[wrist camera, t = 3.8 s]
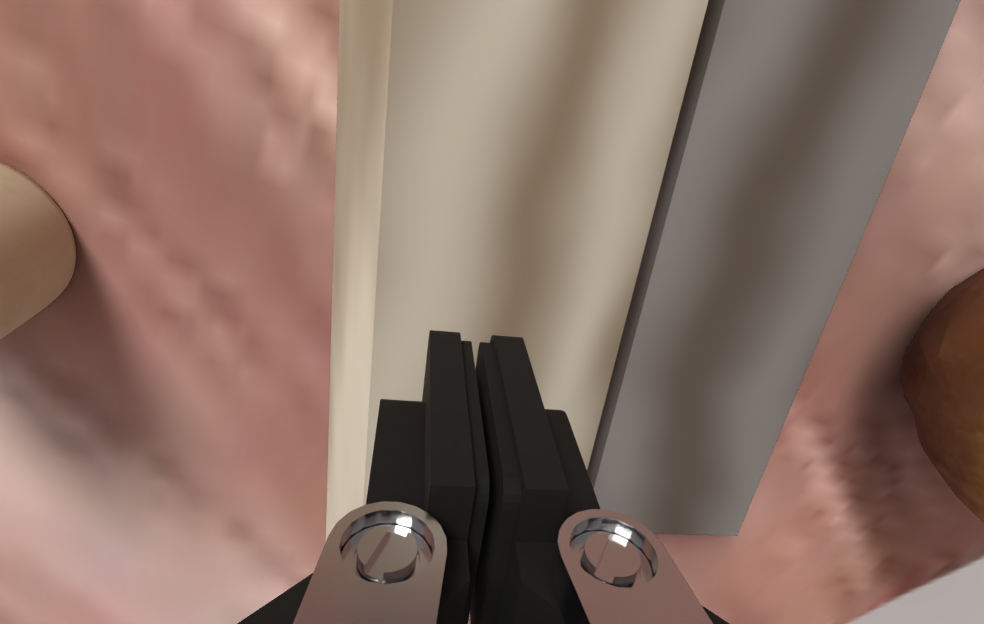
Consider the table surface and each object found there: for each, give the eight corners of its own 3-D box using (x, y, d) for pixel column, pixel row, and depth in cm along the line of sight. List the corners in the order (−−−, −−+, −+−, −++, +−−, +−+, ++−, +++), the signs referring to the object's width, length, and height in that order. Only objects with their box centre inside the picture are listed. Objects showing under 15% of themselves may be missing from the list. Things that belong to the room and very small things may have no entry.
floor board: (955, -113, 18) (1014, -130, 16) (716, 503, 27) (737, 535, 26) (737, -160, 17) (774, -184, 15) (572, 497, 26) (582, 531, 25)
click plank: (687, -178, 16) (757, -190, 14) (537, 504, 26) (570, 533, 24) (349, -394, 9) (419, -450, 8) (323, 620, 19) (353, 668, 18)
